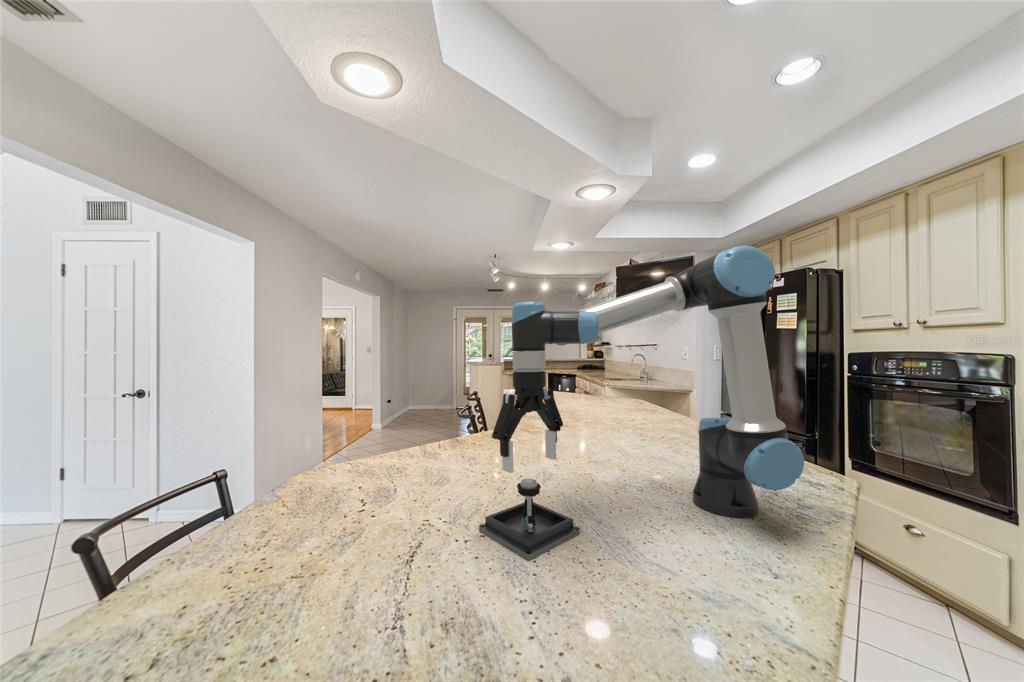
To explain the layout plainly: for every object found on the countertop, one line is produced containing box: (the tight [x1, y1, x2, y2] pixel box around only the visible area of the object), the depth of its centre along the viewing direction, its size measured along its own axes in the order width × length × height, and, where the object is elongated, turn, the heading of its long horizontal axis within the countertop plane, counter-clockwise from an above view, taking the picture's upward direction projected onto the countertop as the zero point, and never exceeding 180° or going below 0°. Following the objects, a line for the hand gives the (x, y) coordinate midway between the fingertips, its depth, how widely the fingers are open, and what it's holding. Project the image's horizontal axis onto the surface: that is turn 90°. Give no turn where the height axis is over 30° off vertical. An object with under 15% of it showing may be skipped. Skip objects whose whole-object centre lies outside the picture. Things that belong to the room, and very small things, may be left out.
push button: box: [516, 478, 542, 532], centre depth 83 cm, size 7×5×10 cm
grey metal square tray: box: [478, 501, 581, 562], centre depth 83 cm, size 16×16×3 cm
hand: (530, 464), depth 84 cm, fingers open, 13 cm apart
